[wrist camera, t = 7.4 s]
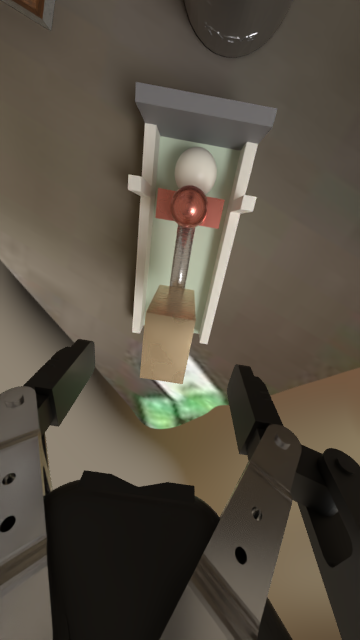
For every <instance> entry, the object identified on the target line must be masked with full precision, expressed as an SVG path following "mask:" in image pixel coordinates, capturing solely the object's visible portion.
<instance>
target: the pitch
mask: <svg viewBox="0 0 360 640" xmlns="http://www.w3.org/2000/svg"><path fill="white" fill-rule="evenodd" d="M135 102H136V104H137V107H138V109H139V111H140V113H141V115H142V117H143V120H144V122H145V132H144V148H143V165H142V177H141V176H135V175H130V174H128V190H130V191H132V192H134V193H135V194H137V195H139V196H141V197H140V214H139V230H138V246H137V263H136V279H135V295H134V312H133V328H132V332H135V333H140V332H141V330H142V327H143V325H145V315H146V311H147V309H148V307H149V305H150V303H151V301H152V299H153V297H154V295H155V293H156V291H157V289H158V287H159V285H166V286H169V285H170V278H171V271H172V263H173V256H174V249H175V241H176V234H177V227H178V224H177V223H176V222H175V221H170V220H164V219H159V218H155V216H156V205H157V194H158V188H162V189H167V190H173V191H177V190H178V189H179V188H178V186H177V184H176V181H175V167H176V163H177V161H178V159H179V157H180V156H181V154H182V153H183V152H184V151H185V150H187V149H189V148H191V147H202V148H205V149H206V150H208V151H209V152H210V153H211V154H212V156H213V158H214V160H215V162H216V166H217V176H216V181H215V183H214V186H213V187H212V189H211V190H210V191H209V193H207V194H206V196H207V197H212V198H218V199H224V200H225V201H224V206H223V211H222V215H221V220H220V224H219V229H216V228H210V227H205V226H199V225H198V226H197V227H195V233H194V239H193V245H192V250H191V256H190V262H189V268H188V274H187V279H186V285H185V289H190V290H194V294H195V313H196V322H195V327H194V332H193V333H199V339H200V343H204V344H207V343H208V339H209V335H210V331H211V327H212V323H213V319H214V315H215V312H216V308H217V304H218V300H219V296H220V292H221V288H222V284H223V280H224V276H225V272H226V268H227V264H228V260H229V256H230V252H231V248H232V245H233V241H234V237H235V233H236V229H237V225H238V221H239V217H240V214H241V213H247V212H253V209H254V205H255V201H256V198H257V197H253V196H247V195H245V193H246V189H247V185H248V181H249V177H250V174H251V170H252V166H253V162H254V158H255V154H256V150H257V146H258V143H259V142H260V141H261V140H262V139H263V137H264V136H265V135H266V134H267V133H268V132H269V131H270V129H271V128H272V127H273V123H274V119H275V116H276V112H277V108H271V107H266V106H261V105H256V104H250V103H245V102H240V101H234V100H229V99H224V98H219V97H213V96H208V95H203V94H198V93H192V92H187V91H182V90H176V89H171V88H166V87H161V86H155V85H150V84H145V83H140V82H136V93H135Z"/></svg>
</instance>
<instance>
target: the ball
mask: <svg viewBox="0 0 360 640" xmlns="http://www.w3.org/2000/svg"><path fill="white" fill-rule="evenodd" d="M216 176H217V166H216V162H215V160H214V158H213V156H212V154H211V153H210V152H209V151H208V150H206V149H205V148H202V147H191V148H189V149H187V150H185V151H184V152H183V153H182V154H181V156H180V157H179V159H178V161H177V163H176V167H175V181H176V184H177V186H178V188H181V187H183V186H186V185H193V186H196V187H198V188H200V189H201V190H202V191H203V192H204V194H205V195H206V194H207V193H209V191H210V190H211V189H212V187H213V186H214V183H215V181H216Z"/></svg>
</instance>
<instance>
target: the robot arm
mask: <svg viewBox="0 0 360 640" xmlns="http://www.w3.org/2000/svg"><path fill="white" fill-rule="evenodd" d="M184 1H185V7H186V10H187V13H188V16H189V20H190V23H191V25H192V27H193V28H194V30H195V32H196V34H197V36H198V37H199V38H200V40H201V41H202V42H203V43H204V45H205V46H206V47H208V48H209V49H210V50H212V51H213V52H214V53H216V54H219V55H222V56H225V57H240V56H244V55H248V54H250V53H251V52H253V51H255V50H257V49H258V48H260V47H261V46H262V45H263V44H264V43H265V42H267V41H268V40H269V39H270V38H271V36H272V35H273V34H274V33H275V31H276V30H277V29H278V27H279V26H280V24H281V23H282V21H283V19H284V17H285V15H286V14H287V12H288V10H289V8H290V6H291V3H292V1H293V0H184ZM94 368H95V349H94V342H93V341H88V340H82V339H78V340H77V341H76V342H75V343H74V344H73V345H72V346H71V347H65V348H63V349H61V350H59V351H58V352H56V353H55V355H53V356H52V358H51V359H50V360H49V361H48V362H47V363H45V365H44V366H42V367H41V368H40V369H39V370H38V372H37V373H35V375H34V376H33V377H31V378H30V380H29V381H27V383H25V384H24V386H21V387H15V388H11V389H9V390H7V391H5V392H3V393H1V394H0V640H292V638H291V636H290V634H289V633H288V631H287V629H286V628H285V626H284V624H283V623H282V621H281V619H280V618H279V616H278V614H277V613H276V611H275V609H274V607H273V606H272V604H271V602H270V601H269V599H268V597H267V595H268V592H269V588H270V584H271V580H272V576H273V573H274V569H275V565H276V561H277V558H278V554H279V550H280V546H281V542H282V539H283V535H284V531H285V527H286V523H287V520H288V516H289V512H290V509H291V505H292V500H294V501H296V502H298V506H299V509H300V512H301V515H302V518H303V521H304V524H305V527H306V530H307V533H308V536H309V539H310V542H311V546H312V548H313V552H314V554H315V558H316V561H317V564H318V567H319V570H320V573H321V576H322V579H323V582H324V585H325V588H326V591H327V595H328V598H329V600H330V604H331V607H332V610H333V613H334V616H335V619H336V622H337V626H338V628H339V632H340V635H341V638H342V640H360V466H359V465H358V464H357V463H356V462H355V461H354V460H353V459H352V458H351V457H350V456H348V455H347V454H345V453H344V452H342V451H340V450H337V449H333V448H329V449H326V450H325V451H324V453H323V454H321V453H319V452H317V451H314V450H312V449H310V448H308V447H305V446H303V445H301V444H300V442H299V440H298V438H297V437H296V436H295V435H294V433H292V432H291V431H290V430H289V429H287V428H286V427H284V426H283V424H282V422H281V420H280V417H279V415H278V413H277V410H276V408H275V406H274V404H273V401H272V400H271V397H270V394H269V392H268V390H267V388H266V385H265V384H264V383H263V382H262V380H261V379H260V378H259V377H255V376H254V375H253V372H252V370H251V367H250V366H244V365H238V364H236V365H235V367H234V369H233V372H232V375H231V378H230V381H229V384H228V388H227V395H228V401H229V406H230V410H231V415H232V420H233V425H234V430H235V435H236V440H237V445H238V450H239V454H244V455H248V460H249V462H248V464H247V466H246V468H245V470H244V472H243V474H242V476H241V478H240V479H239V481H238V483H237V485H236V487H235V489H234V491H233V493H232V495H231V497H230V499H229V501H228V503H227V504H226V506H225V508H224V510H223V512H222V514H221V516H220V517H219V516H218V515H217V513H216V512H215V511H214V510H213V509H212V508H211V507H210V506H209V505H208V504H207V503H205V502H204V501H203V500H201V499H199V498H198V497H196V496H194V486H190V485H183V484H176V483H169V482H166V483H160V484H154V485H148V486H142V487H137V486H134V485H132V484H130V483H128V482H126V481H124V480H122V479H120V478H118V477H116V476H114V475H112V474H106V473H99V472H91V471H84V472H83V475H82V477H81V479H80V480H76V481H73V482H69V483H67V484H65V485H62V486H60V487H58V488H56V489H55V490H53V489H52V483H51V477H50V470H49V461H48V454H47V444H46V436H45V431H46V430H47V429H48V427H49V426H50V425H53V426H59V425H60V424H61V422H62V421H63V419H64V418H65V416H66V415H67V413H68V411H69V410H70V408H71V407H72V405H73V403H74V402H75V400H76V399H77V397H78V396H79V394H80V392H81V391H82V389H83V388H84V386H85V385H86V383H87V381H88V380H89V378H90V376H91V375H92V373H93V371H94Z"/></svg>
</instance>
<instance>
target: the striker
mask: <svg viewBox="0 0 360 640" xmlns="http://www.w3.org/2000/svg"><path fill="white" fill-rule="evenodd" d="M224 201H225V200H224V199H218V198H212V197H207V196H206V195H205V194H204V192H203V191H202V190H201V189H200V188H198V187H196V186H193V185H186V186H183V187H181V188H179V189H178V190H177V191H173V190H167V189H162V188H158V194H157V205H156V216H155V218H159V219H164V220H170V221H175V222H176V223H177V224H178V227H177V234H176V241H175V249H174V256H173V263H172V271H171V278H170V285H169V286H166V285H159V287H158V289H157V291H156V293H155V295H154V297H153V299H152V301H151V303H150V305H149V307H148V309H147V311H146V315H145V326H144V337H143V349H142V360H141V371H140V378H147V379H153V380H160V381H166V382H173V383H179V384H183V379H184V374H185V370H186V365H187V360H188V355H189V351H190V346H191V341H192V337H193V332H194V327H195V322H196V313H195V294H194V290H190V289H185V285H186V279H187V274H188V268H189V262H190V256H191V250H192V245H193V239H194V233H195V227H197V226H198V225H199V226H205V227H210V228H216V229H219V224H220V220H221V215H222V211H223V206H224Z"/></svg>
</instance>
